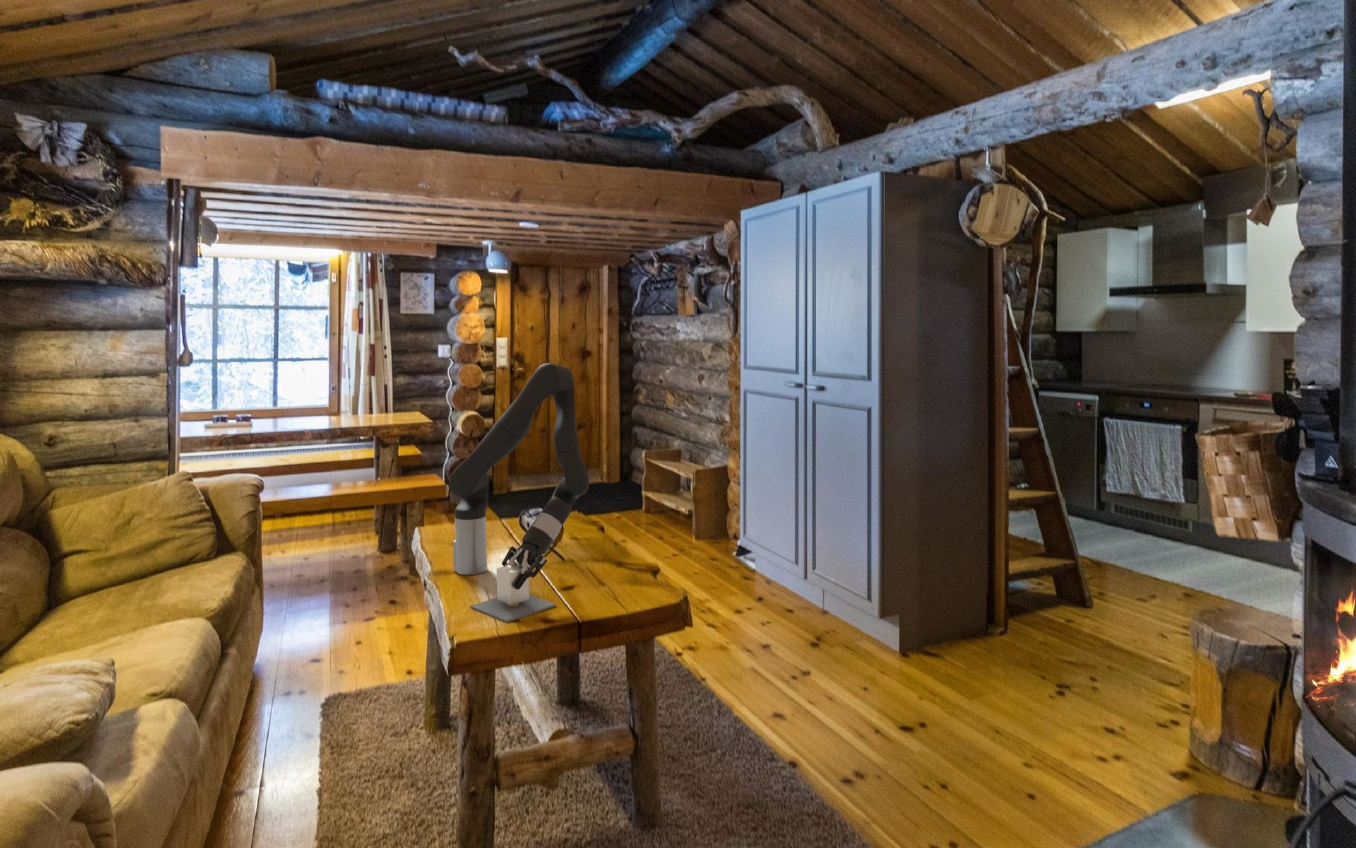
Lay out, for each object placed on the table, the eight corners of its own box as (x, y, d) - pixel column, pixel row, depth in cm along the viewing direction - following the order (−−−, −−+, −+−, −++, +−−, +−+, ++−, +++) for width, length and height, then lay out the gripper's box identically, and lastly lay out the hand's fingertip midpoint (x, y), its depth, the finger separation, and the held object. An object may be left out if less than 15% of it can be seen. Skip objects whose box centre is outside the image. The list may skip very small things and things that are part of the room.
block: (497, 599, 205) (496, 568, 204) (515, 593, 210) (515, 563, 209) (511, 604, 201) (510, 573, 200) (529, 598, 206) (528, 568, 205)
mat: (470, 607, 205) (470, 596, 205) (519, 593, 217) (519, 582, 217) (506, 622, 195) (506, 610, 194) (555, 606, 206) (555, 595, 206)
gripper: (518, 521, 214) (483, 572, 206) (551, 529, 204) (515, 583, 197) (534, 536, 218) (500, 586, 211) (567, 545, 209) (532, 598, 201)
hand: (507, 585), depth 204 cm, fingers closed on block, 6 cm apart
